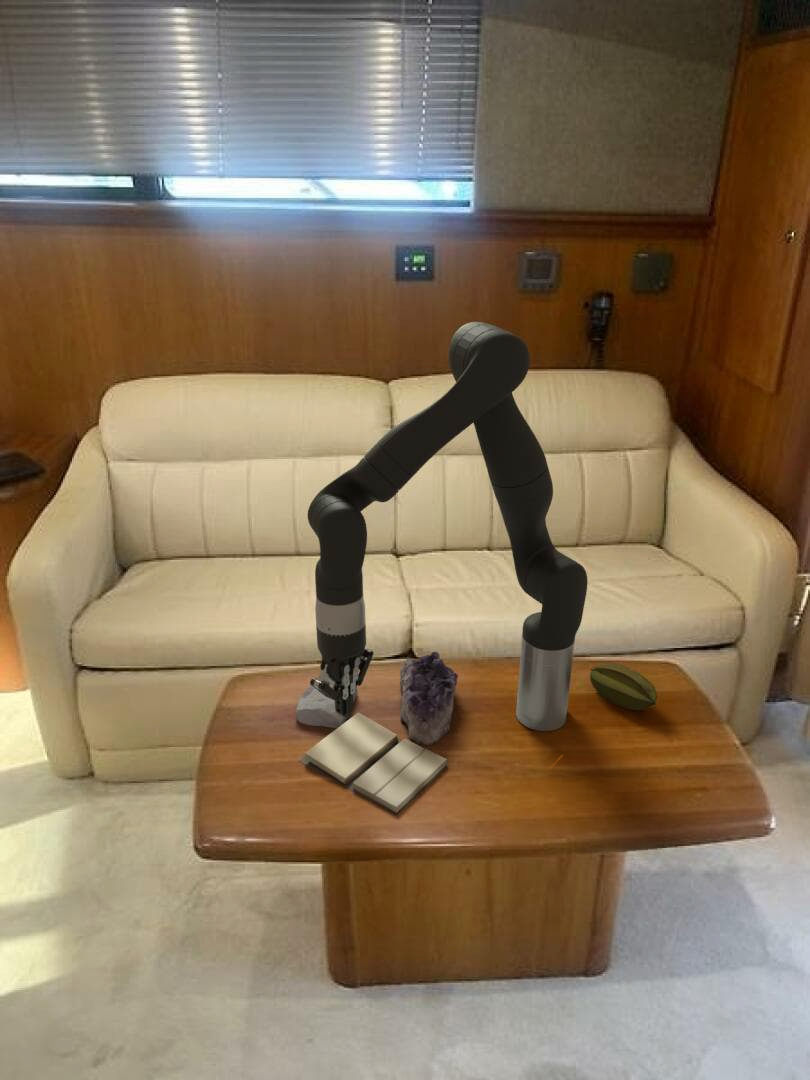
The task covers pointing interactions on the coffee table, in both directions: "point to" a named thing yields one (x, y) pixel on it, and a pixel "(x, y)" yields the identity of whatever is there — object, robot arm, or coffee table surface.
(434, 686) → the geode
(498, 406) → the robot arm
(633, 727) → the coffee table surface
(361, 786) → the laid floor
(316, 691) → the stone block
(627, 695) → the fruit
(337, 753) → the beige flat rectangular panel
